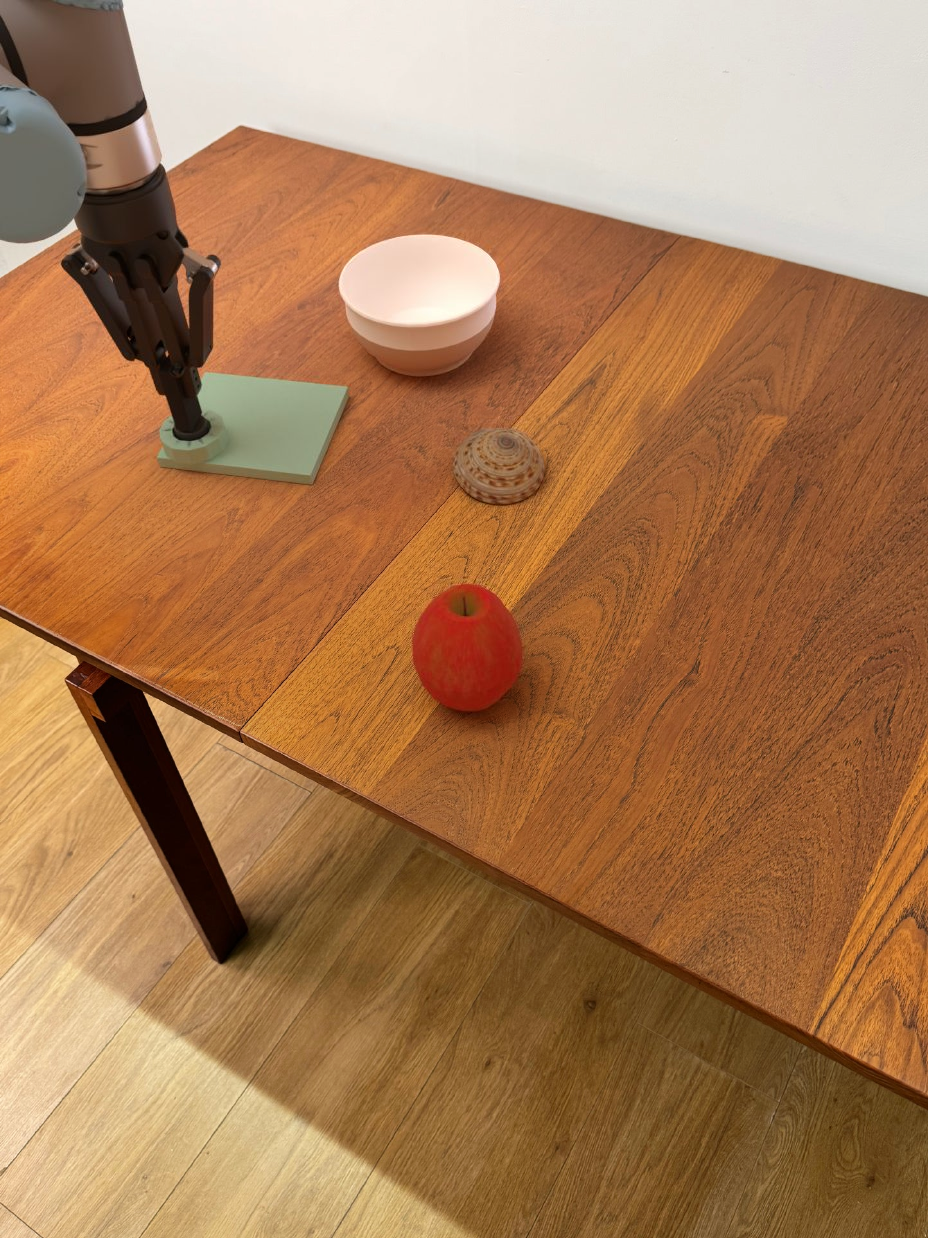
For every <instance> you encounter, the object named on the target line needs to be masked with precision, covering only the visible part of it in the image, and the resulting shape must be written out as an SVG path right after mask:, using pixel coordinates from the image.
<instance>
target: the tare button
mask: <svg viewBox="0 0 928 1238" xmlns="http://www.w3.org/2000/svg"><path fill="white" fill-rule="evenodd" d="M174 429H175V432H176V435H177V438H178V440H180V441H189V442H190V441H194V440H199V439H201V438H202V437H204V436H205V435H207V434H208V433H209V428H208V424H207V421H206V419H205V417H204V416H202V415H201V416H200V418H199V420H198V422H197V423H196V425H195V427H194V429H193V431H192V432H189V431H181V430H176V427H175V424H174Z"/></svg>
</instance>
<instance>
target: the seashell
mask: <svg viewBox="0 0 928 1238" xmlns="http://www.w3.org/2000/svg"><path fill="white" fill-rule="evenodd" d="M452 471H453V475H454V477H455V479H456V481H457V483H458V485H459V486H460V487H461V488H462V489H463V490H464V491H465V492H466V493H467V494H468V495H469V496H471V497H472V498H474V499H476V500H478V501H481V502H483V503H487V504H492V505H509V504H514V503H518V502H521V501H523V500H526V499H528V498H529V497H531V496H532V495H533V494H534V493H535V492H536V491H537V490H538V488H539V487H540V486H541V484H542V481H543V480H544V476H545V463H544V458H543V455H542V453H541V451H540V449H539V448H538V446H537V445H536V443H535V442H534V441H533V439H532V437H530V436H529V435H528V434H526V433H524V432H523V431H521V430H520V429H517V428H509V427H498V428H482V429H479V430H477V431H475V432H473V433H471V434H470V435H468V436H467V437H466V438H465V439H463V440H462V442H461V443H460V444H459V445H458V447H457V449H456V450H455V453H454V455H453V460H452Z"/></svg>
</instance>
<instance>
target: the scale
mask: <svg viewBox="0 0 928 1238" xmlns="http://www.w3.org/2000/svg"><path fill="white" fill-rule="evenodd" d="M200 380H201V383H202V387H201V390H200V392H199V394H198V395H197V396H198V400H199V403H200V407H201V410H202V414H201V415H202V416H204V417H205V419H206V421H207V424H208V428H209V433H208V434H207V435H205V436H204V437H202V438H201V439H199V440H194V441H190V442H189V441H180V440H178V438H177V435H176V432H175V429H174V420H173V417H172V415H170V416H168V417H167V418H165V419H164V420H163V423H162V424H161V426H160V428H159V430H158V435H159V438H160V442H161V445H162V447H161V449H160V450H159V452H158V454H157V456H156V461H157V463H158V466H159V467H160V468H168V469H177V470H185V471H190V472H191V471H192V472H200V473H208V474H209V473H210V474H219V475H226V476H234V477H242V478H252V479H259V480H270V481H278V482H286V483H292V484H293V483H294V484H301V485H302V484H303V485H311V486H312V485H313V484H314V482H315V480H316V477H317V475H318V472H319V470H320V467H321V465H322V463H323V460H324V457H325V456H326V453H327V451H328V448H329V446H330V444H331V442H332V439H333V436H334V434H335V432H336V429H337V427H338V424H339V422H340V419H341V418H342V414H343V413H344V410H345V407H346V405H347V403H348V400H349V398H350V390H349V387H348V386H347V385H336V384H328V383H327V384H326V383H318V382H317V383H315V382H306V381H299V380H286V379H279V378H278V379H277V378H269V377H258V376H249V375H238V374H230V373H229V374H228V373H218V372H210V371H205V372H204V374H203V375H202V376H201V378H200Z"/></svg>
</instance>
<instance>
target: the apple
mask: <svg viewBox="0 0 928 1238" xmlns="http://www.w3.org/2000/svg"><path fill="white" fill-rule="evenodd" d="M519 629H520V628H519V627H518V624H517V622H516V619H515V618H514V616H513V614H512V613H511V611H510V610H509V609H508V607H507V606H506V605H505V603H504V602H503V601H502V600H501V598H500V597H499V596H498V595H497V594H495V593H494V592H493V591H491V590H490V589H488V588H486V587H484V586H482V585H480V584H475V583H468V582H467V583H462V584H455V585H452V586H450V587H449V588H447V589H445V590H444V591H442V592H440V593H439V594H438V595H436V596H435V597H433V599H432V600H431V601H430V602H429V603H428V604H427V606H426V607H425V609H424V610H423V612H422V613H421V615H420V616H419V617H418V620H417V622H416V625H415V627H414V631H413V635H412V639H411V646H412V647H411V648H412V649H411V651H412V663H413V666H414V670H415V672H416V674H417V676H418V678H419V681H420V683H421V685H422V687H423V688H424V689H425V690H426V691H427V692H428V694H430V696H431V697H432V698H433V699H434V700H435V701H436V702H438V703H440V704H441V705H443V706H445V707H446V708H449V709H453V710H454V711H458V712H459V711H461V712H477V711H482V710H486V709H488V708H490V707H491V706H492V705H494V704H495V703H498V701H500V700H501V698H502V697H504V695H505V694H507V692H508V691H510V689H512V687H513V685H514V684H515V683H516V681H517V680H518V678H519V675H520V673H521V671H522V668H523V649H524V647H523V643H522V639H521V633H520V630H519Z"/></svg>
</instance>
